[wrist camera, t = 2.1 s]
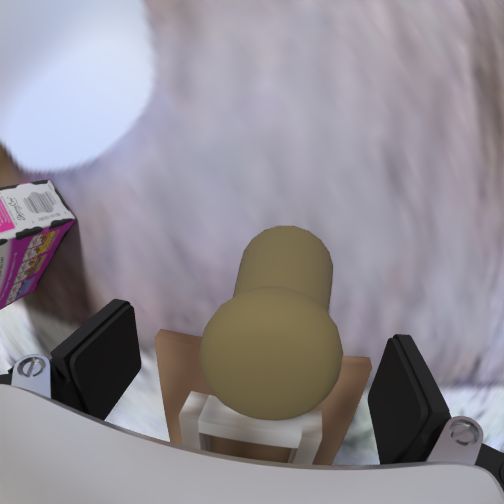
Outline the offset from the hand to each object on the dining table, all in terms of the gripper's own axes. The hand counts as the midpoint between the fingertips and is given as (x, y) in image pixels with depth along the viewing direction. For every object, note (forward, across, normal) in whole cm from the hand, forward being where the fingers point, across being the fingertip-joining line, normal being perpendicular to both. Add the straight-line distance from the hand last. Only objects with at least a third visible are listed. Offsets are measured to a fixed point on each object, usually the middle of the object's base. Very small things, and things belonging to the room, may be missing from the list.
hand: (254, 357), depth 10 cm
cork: (+10, -1, 0) cm, 10 cm away
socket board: (+10, 0, +16) cm, 19 cm away
